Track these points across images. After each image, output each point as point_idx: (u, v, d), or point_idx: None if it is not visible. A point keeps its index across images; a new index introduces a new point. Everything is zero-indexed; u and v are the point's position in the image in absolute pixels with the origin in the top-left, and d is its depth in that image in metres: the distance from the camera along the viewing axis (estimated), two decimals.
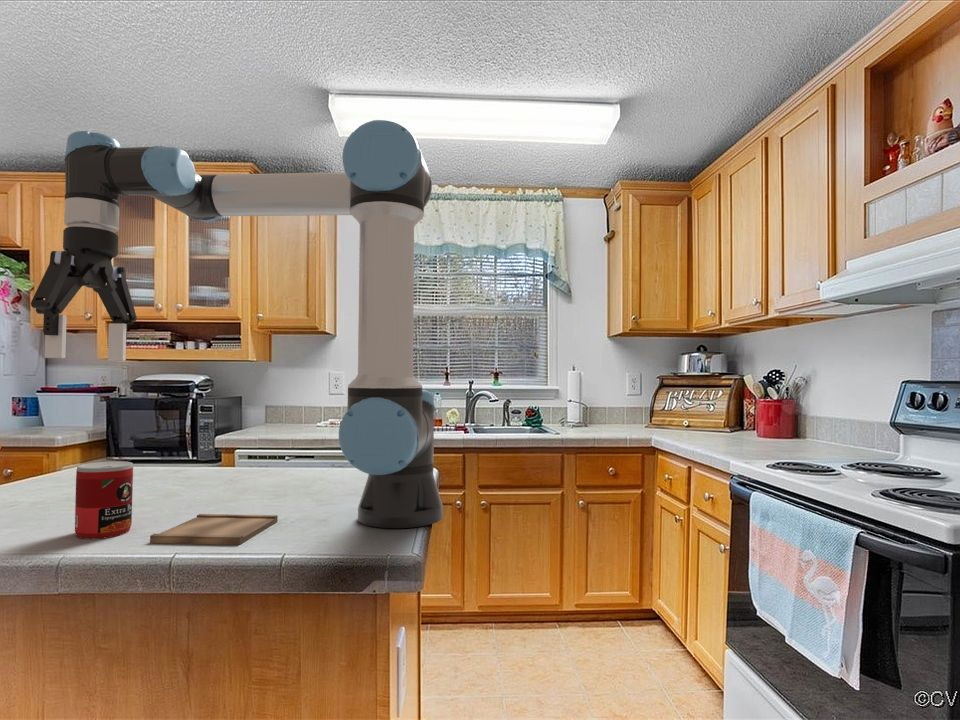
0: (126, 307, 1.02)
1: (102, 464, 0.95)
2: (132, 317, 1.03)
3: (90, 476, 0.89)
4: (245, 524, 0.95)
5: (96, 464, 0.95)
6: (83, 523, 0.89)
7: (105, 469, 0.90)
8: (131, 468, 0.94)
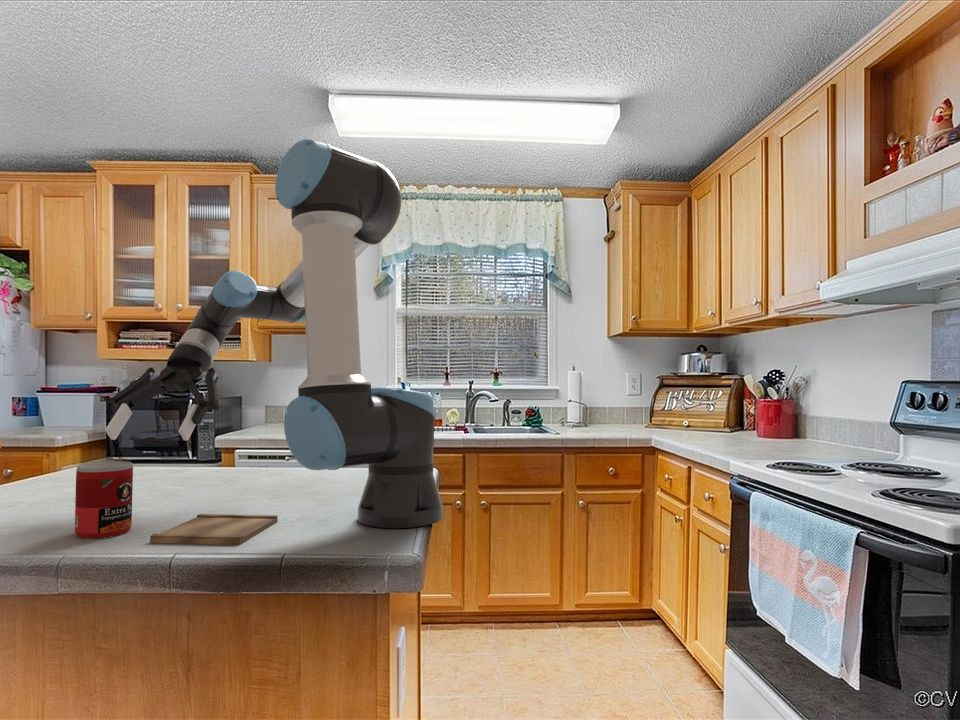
0: (208, 394, 1.10)
1: (102, 464, 0.95)
2: (209, 399, 1.08)
3: (90, 476, 0.89)
4: (245, 524, 0.95)
5: (96, 465, 0.95)
6: (83, 523, 0.89)
7: (105, 469, 0.90)
8: (131, 468, 0.94)
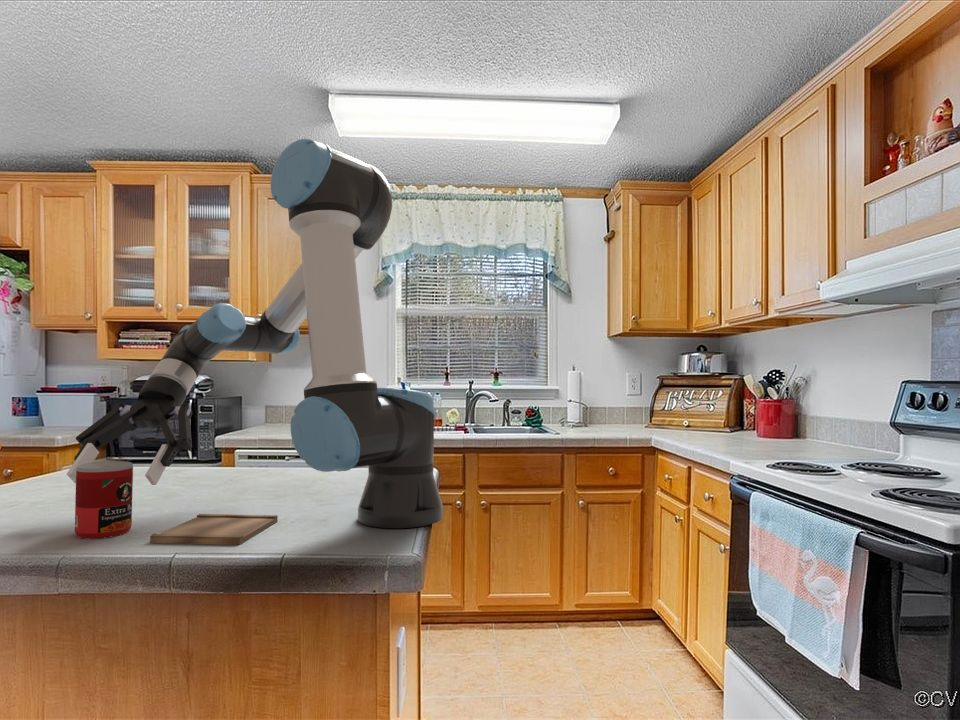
0: None
1: (102, 464, 0.95)
2: (180, 439, 1.01)
3: (90, 476, 0.89)
4: (245, 524, 0.95)
5: (96, 465, 0.95)
6: (83, 523, 0.89)
7: (105, 469, 0.90)
8: (131, 468, 0.94)
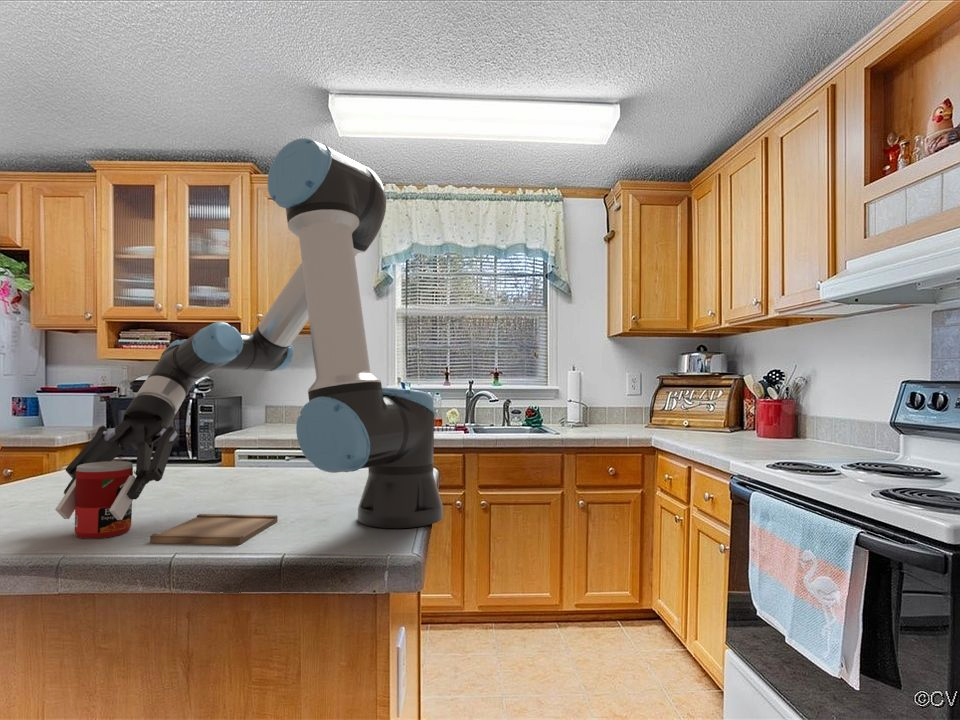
0: None
1: (102, 464, 0.95)
2: (149, 469, 0.94)
3: (90, 476, 0.89)
4: (245, 524, 0.95)
5: (96, 464, 0.95)
6: (83, 522, 0.89)
7: (105, 469, 0.90)
8: (131, 468, 0.94)
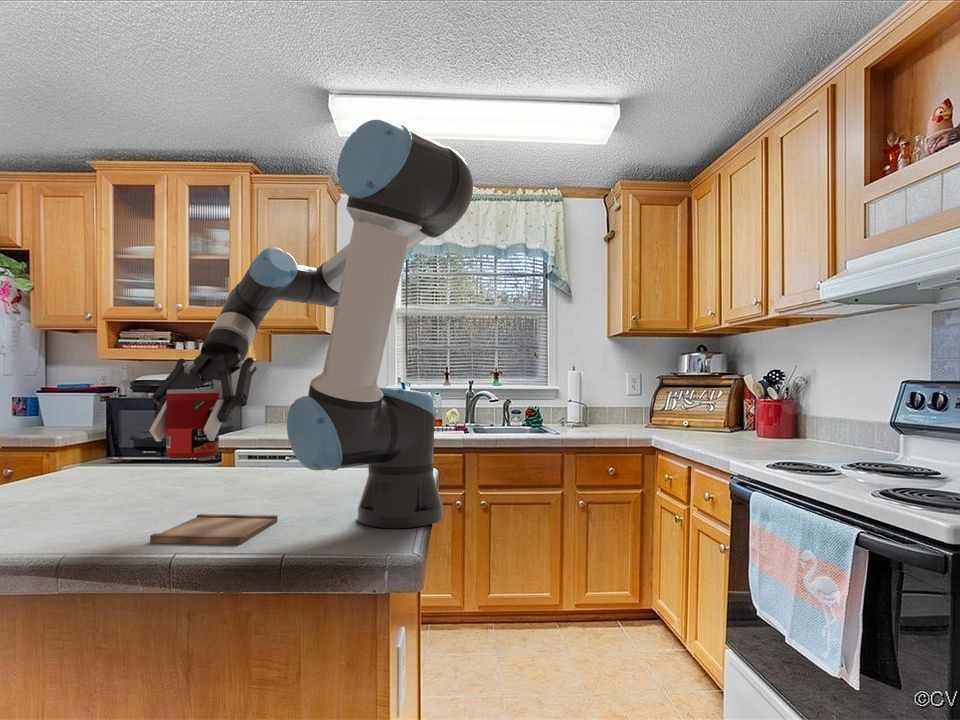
0: None
1: None
2: (236, 393, 0.96)
3: (182, 398, 0.91)
4: (245, 524, 0.95)
5: None
6: (176, 443, 0.91)
7: (196, 391, 0.92)
8: (218, 393, 0.96)
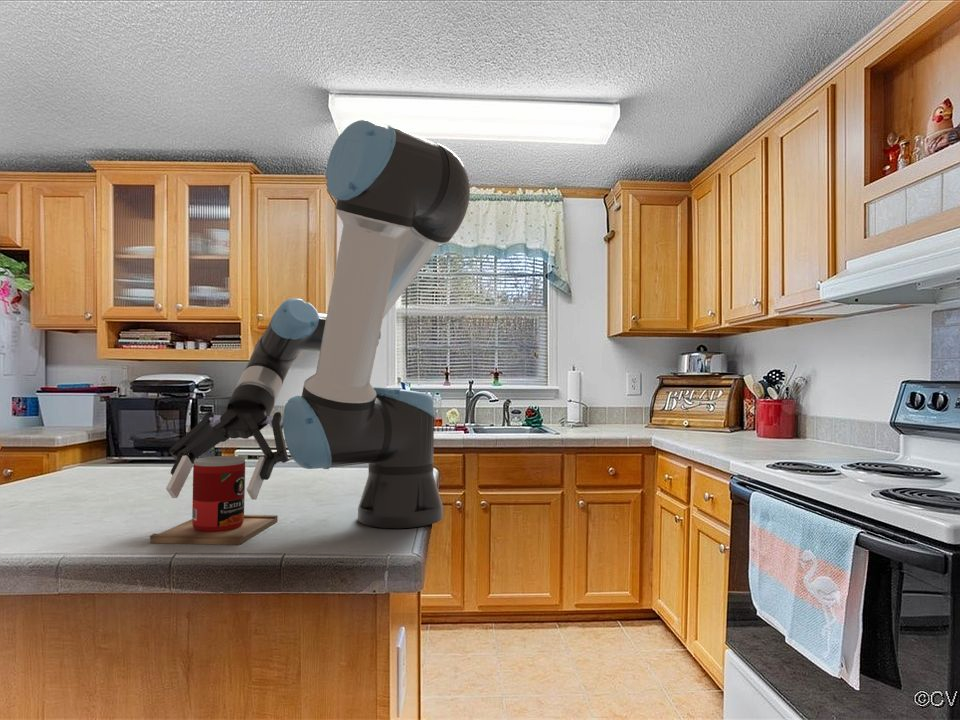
0: (276, 444, 0.98)
1: (214, 459, 0.96)
2: (277, 451, 0.96)
3: (209, 471, 0.91)
4: (245, 524, 0.95)
5: (208, 459, 0.96)
6: (203, 516, 0.90)
7: (223, 463, 0.91)
8: (244, 462, 0.95)
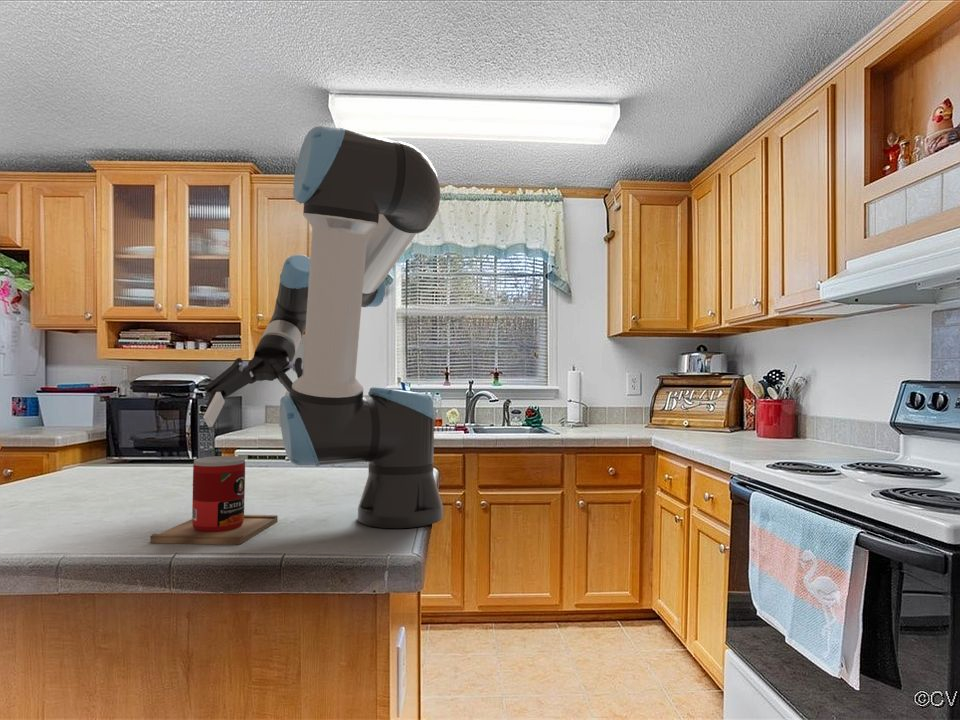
0: None
1: (214, 459, 0.96)
2: None
3: (209, 471, 0.91)
4: (245, 524, 0.95)
5: (208, 459, 0.96)
6: (203, 516, 0.90)
7: (223, 463, 0.91)
8: (244, 462, 0.95)
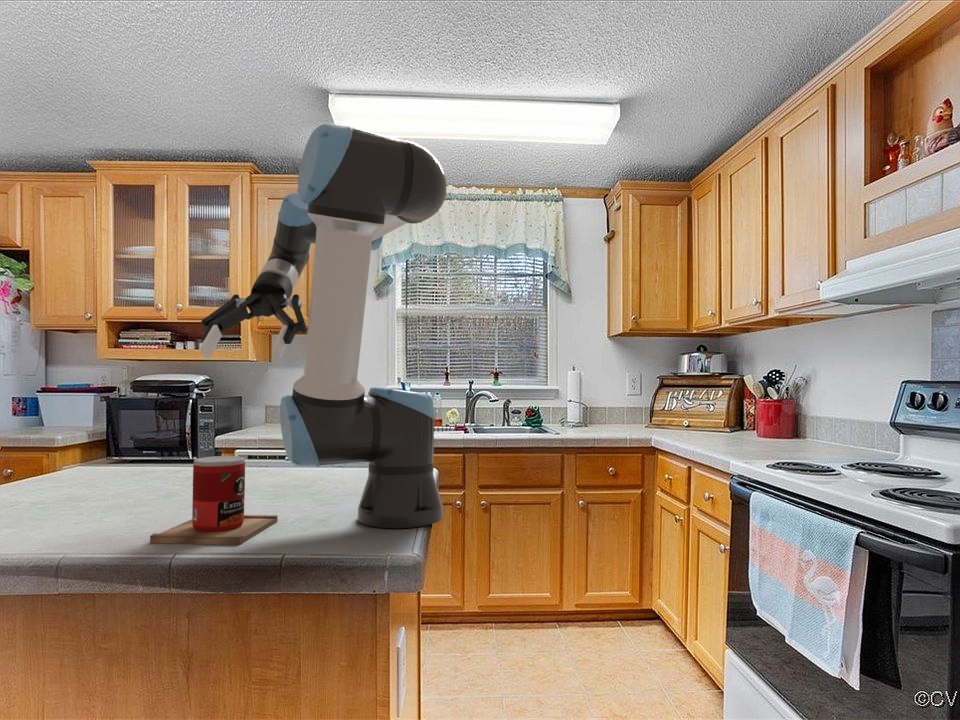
0: (296, 317, 1.12)
1: (214, 459, 0.96)
2: (298, 321, 1.10)
3: (209, 471, 0.91)
4: (245, 524, 0.95)
5: (208, 459, 0.96)
6: (203, 516, 0.90)
7: (223, 463, 0.91)
8: (244, 462, 0.95)
